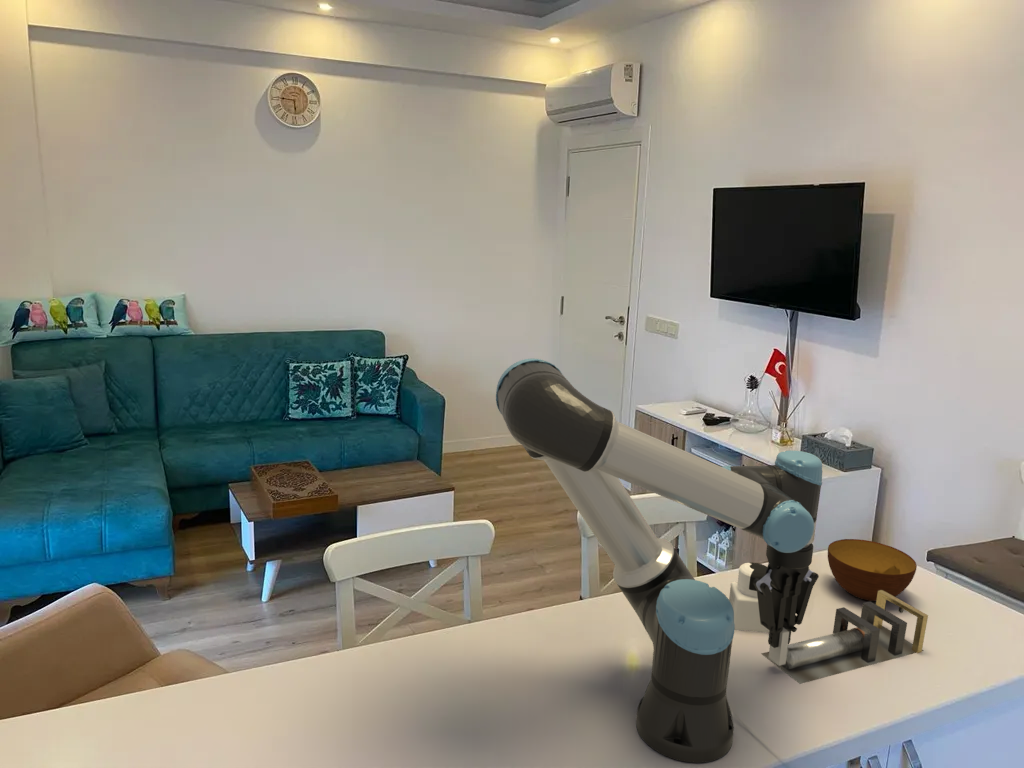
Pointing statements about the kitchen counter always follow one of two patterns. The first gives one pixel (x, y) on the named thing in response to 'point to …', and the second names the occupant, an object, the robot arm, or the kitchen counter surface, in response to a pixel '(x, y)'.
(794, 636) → the kitchen counter surface
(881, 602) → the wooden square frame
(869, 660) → the collar
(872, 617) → the collar
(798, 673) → the board
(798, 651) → the tube
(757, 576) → the container
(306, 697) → the kitchen counter surface
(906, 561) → the bowl
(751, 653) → the kitchen counter surface
